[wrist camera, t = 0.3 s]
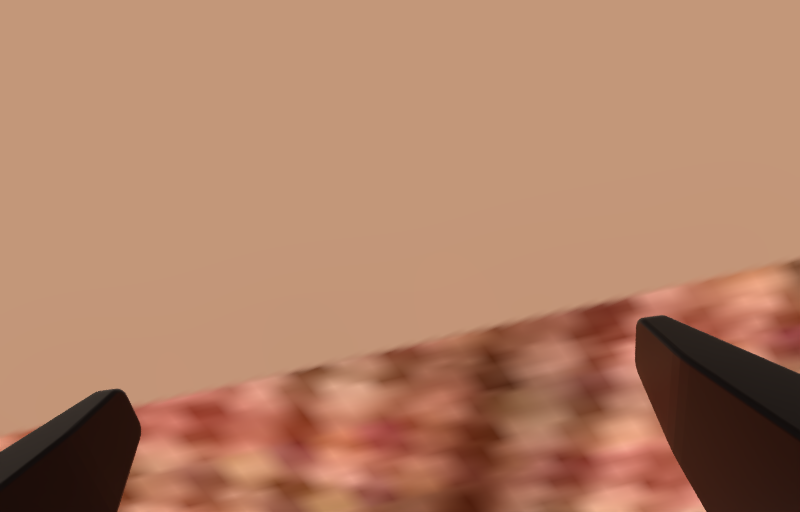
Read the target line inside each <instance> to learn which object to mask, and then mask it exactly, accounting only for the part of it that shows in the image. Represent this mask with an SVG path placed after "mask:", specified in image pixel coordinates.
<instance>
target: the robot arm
mask: <svg viewBox="0 0 800 512" xmlns="http://www.w3.org/2000/svg"><path fill="white" fill-rule="evenodd" d="M635 363H636V368H637V372H638V374H639V377H640V379H641V381H642V384H643V386H644V388H645V390H646V393H647V395H648V397H649V400H650V402H651V404H652V407H653V409H654V411H655V413H656V416H657V418H658V420H659V423H660V425H661V427H662V430H663V432H664V434H665V437H666V439H667V441H668V443H669V445H670V447H671V450H672V452H673V454H674V456H675V457H676V459H677V461H678V463H679V465H680V467H681V468H682V470H683V472H684V474H685V475H686V477H687V479H688V481H689V482H690V484H691V486H692V487H693V489H694V491H695V493H696V494H697V496H698V498H699V500H700V501H701V503H702V505H703V507H704V508H705V510H706V512H800V374H799V373H797V372H794V371H792V370H790V369H787V368H785V367H783V366H780V365H778V364H776V363H773V362H771V361H769V360H767V359H764V358H762V357H760V356H757V355H755V354H753V353H750V352H748V351H746V350H743V349H741V348H739V347H736V346H734V345H732V344H730V343H727V342H725V341H723V340H720V339H718V338H716V337H713V336H711V335H709V334H706V333H704V332H702V331H699V330H697V329H695V328H693V327H690V326H688V325H686V324H683V323H681V322H679V321H676V320H674V319H672V318H669V317H667V316H663V315H660V316H653V317H646V318H641V319H639V320H638V322H637V325H636V345H635ZM140 436H141V426H140V422H139V420H138V418H137V416H136V414H135V411H134V409H133V407H132V405H131V403H130V401H129V399H128V397H127V395H126V394H125V392H124V391H122V390H120V389H111V390H103V391H98V392H95V393H93V394H92V395H90V396H89V397H87V398H85V399H84V400H82V401H81V402H79V403H77V404H76V405H74V406H73V407H71V408H69V409H68V410H66V411H65V412H63V413H62V414H60V415H58V416H57V417H55V418H54V419H52V420H50V421H49V422H47V423H46V424H44V425H42V426H41V427H39V428H38V429H36V430H35V431H33V432H31V433H30V434H28V435H27V436H25V437H23V438H22V439H20V440H19V441H17V442H15V443H14V444H12V445H11V446H9V447H7V448H6V449H4V450H3V451H1V452H0V512H117V511H118V508H119V505H120V502H121V498H122V495H123V492H124V489H125V485H126V482H127V479H128V476H129V473H130V469H131V466H132V463H133V460H134V456H135V453H136V450H137V447H138V444H139V440H140Z"/></svg>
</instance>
